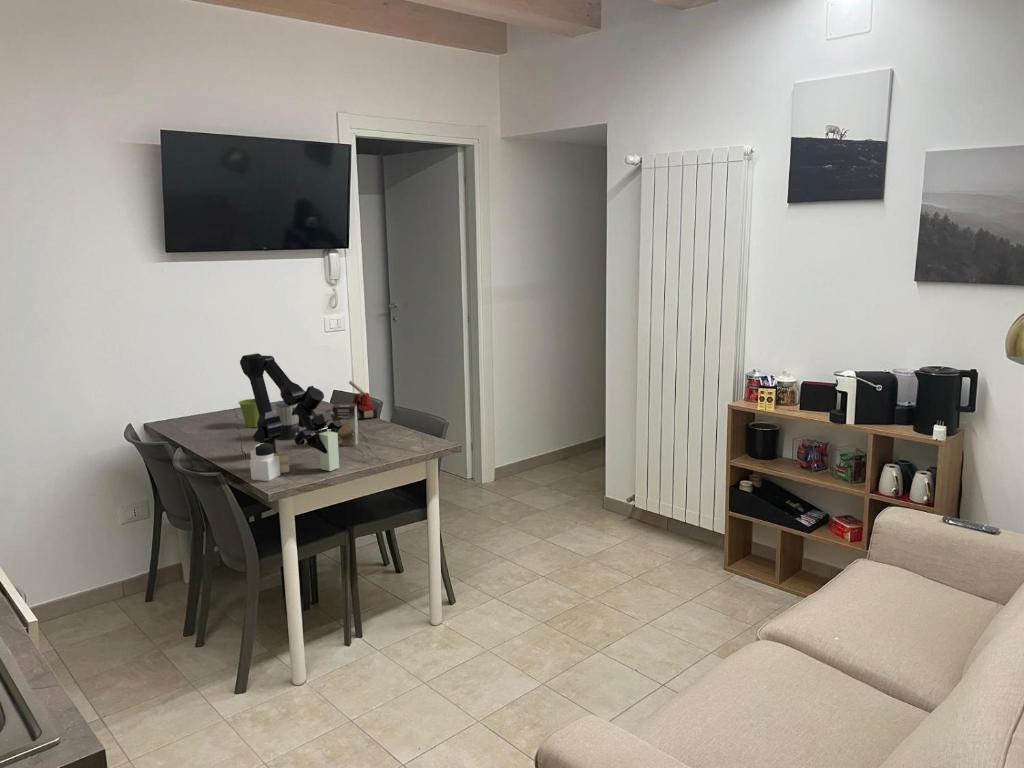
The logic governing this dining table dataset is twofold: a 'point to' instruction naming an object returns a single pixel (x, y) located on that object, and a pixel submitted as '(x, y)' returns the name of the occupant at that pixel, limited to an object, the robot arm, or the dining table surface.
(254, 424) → the plant pot
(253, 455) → the plastic canister
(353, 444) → the coffee box
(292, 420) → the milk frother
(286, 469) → the birch block
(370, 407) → the toy fire truck
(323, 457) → the sage block
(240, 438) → the dining table surface
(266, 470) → the medicine bottle
